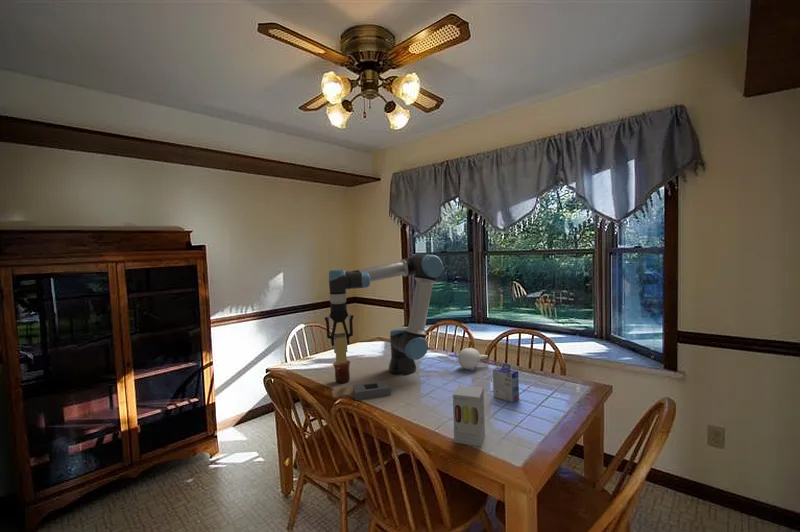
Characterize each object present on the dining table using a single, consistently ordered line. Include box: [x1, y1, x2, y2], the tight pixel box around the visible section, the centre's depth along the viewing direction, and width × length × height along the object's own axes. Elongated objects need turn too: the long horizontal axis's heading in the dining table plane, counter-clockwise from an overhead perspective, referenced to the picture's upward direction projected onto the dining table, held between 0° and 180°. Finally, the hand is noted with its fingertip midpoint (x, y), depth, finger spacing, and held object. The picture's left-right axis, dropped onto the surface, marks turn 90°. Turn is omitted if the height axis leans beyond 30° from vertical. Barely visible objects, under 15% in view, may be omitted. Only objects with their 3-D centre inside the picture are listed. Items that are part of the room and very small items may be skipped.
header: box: [352, 379, 392, 401], centre depth 167 cm, size 16×10×4 cm, turn 104°
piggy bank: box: [457, 347, 489, 371], centre depth 198 cm, size 12×12×15 cm
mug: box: [332, 359, 351, 385], centre depth 184 cm, size 12×9×10 cm
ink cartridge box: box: [492, 362, 520, 403], centre depth 156 cm, size 10×6×14 cm, turn 42°
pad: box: [331, 386, 353, 398], centre depth 171 cm, size 9×9×1 cm
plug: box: [334, 332, 348, 364], centre depth 170 cm, size 4×4×13 cm
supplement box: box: [452, 384, 486, 448], centre depth 125 cm, size 10×9×17 cm
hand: (340, 351), depth 170 cm, fingers closed on plug, 4 cm apart
